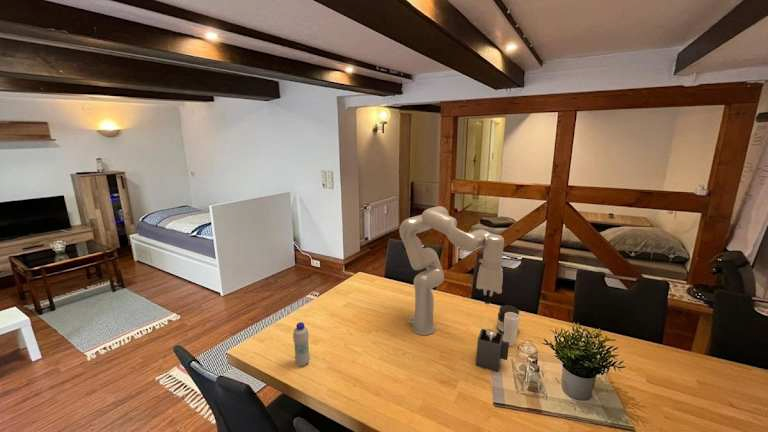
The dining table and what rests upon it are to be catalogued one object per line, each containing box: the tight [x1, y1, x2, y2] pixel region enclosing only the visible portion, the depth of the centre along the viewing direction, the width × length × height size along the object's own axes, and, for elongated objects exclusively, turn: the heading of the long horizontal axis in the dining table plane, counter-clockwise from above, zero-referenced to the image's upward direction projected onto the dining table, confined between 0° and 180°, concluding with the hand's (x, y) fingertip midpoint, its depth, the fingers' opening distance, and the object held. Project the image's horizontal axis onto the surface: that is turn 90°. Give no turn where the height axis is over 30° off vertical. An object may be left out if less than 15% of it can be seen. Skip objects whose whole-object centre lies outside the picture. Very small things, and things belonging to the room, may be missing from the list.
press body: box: [475, 328, 510, 373], centre depth 148 cm, size 12×10×13 cm
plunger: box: [486, 328, 497, 342], centre depth 148 cm, size 7×7×12 cm
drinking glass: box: [503, 312, 520, 347], centre depth 162 cm, size 7×7×15 cm
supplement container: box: [496, 304, 521, 334], centre depth 173 cm, size 10×10×12 cm
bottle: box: [292, 322, 311, 367], centre depth 147 cm, size 7×7×20 cm
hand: (487, 302), depth 145 cm, fingers closed
